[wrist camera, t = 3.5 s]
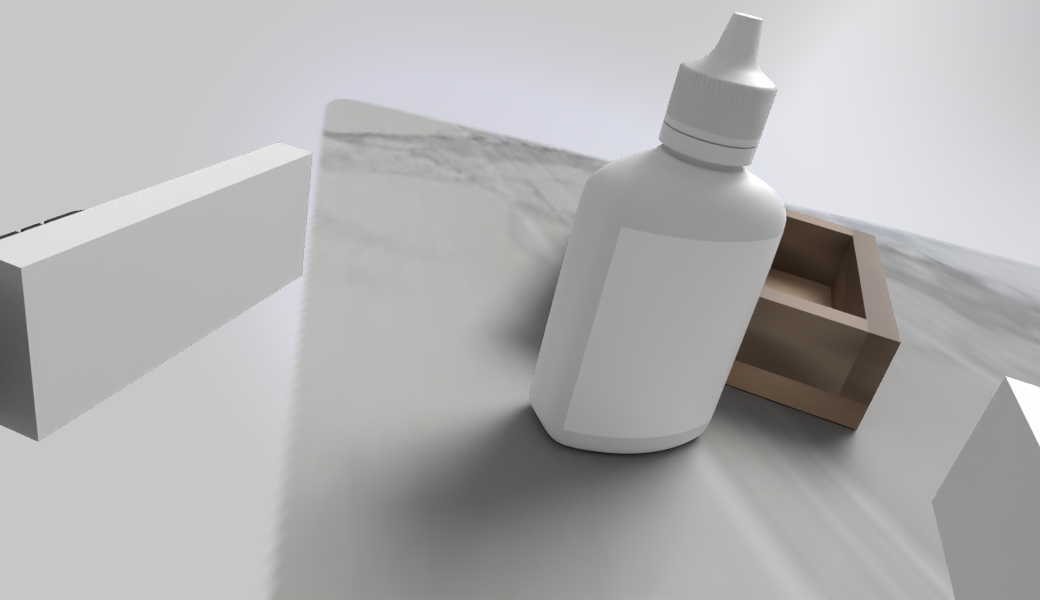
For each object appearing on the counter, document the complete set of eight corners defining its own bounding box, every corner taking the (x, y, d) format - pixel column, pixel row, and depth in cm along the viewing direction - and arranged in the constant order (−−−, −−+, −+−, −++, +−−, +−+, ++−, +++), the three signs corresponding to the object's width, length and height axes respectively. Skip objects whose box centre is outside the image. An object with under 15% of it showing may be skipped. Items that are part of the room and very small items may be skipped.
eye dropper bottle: (711, 490, 22) (890, 58, 16) (517, 438, 22) (630, -4, 17) (702, 404, 26) (844, 32, 20) (537, 361, 26) (634, -18, 20)
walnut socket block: (843, 304, 36) (874, 235, 34) (856, 430, 26) (900, 342, 25) (616, 232, 38) (635, 164, 36) (551, 322, 28) (574, 236, 27)
